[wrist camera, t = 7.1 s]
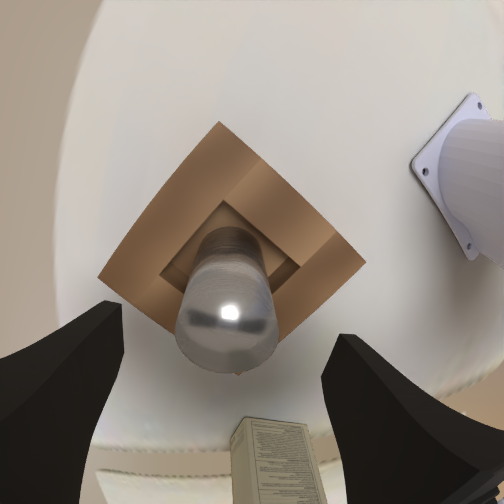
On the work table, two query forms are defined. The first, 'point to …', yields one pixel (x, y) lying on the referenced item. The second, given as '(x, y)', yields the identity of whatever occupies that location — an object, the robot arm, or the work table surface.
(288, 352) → the work table surface
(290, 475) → the skincare box
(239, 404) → the work table surface
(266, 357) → the pin
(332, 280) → the socket block
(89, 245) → the work table surface
